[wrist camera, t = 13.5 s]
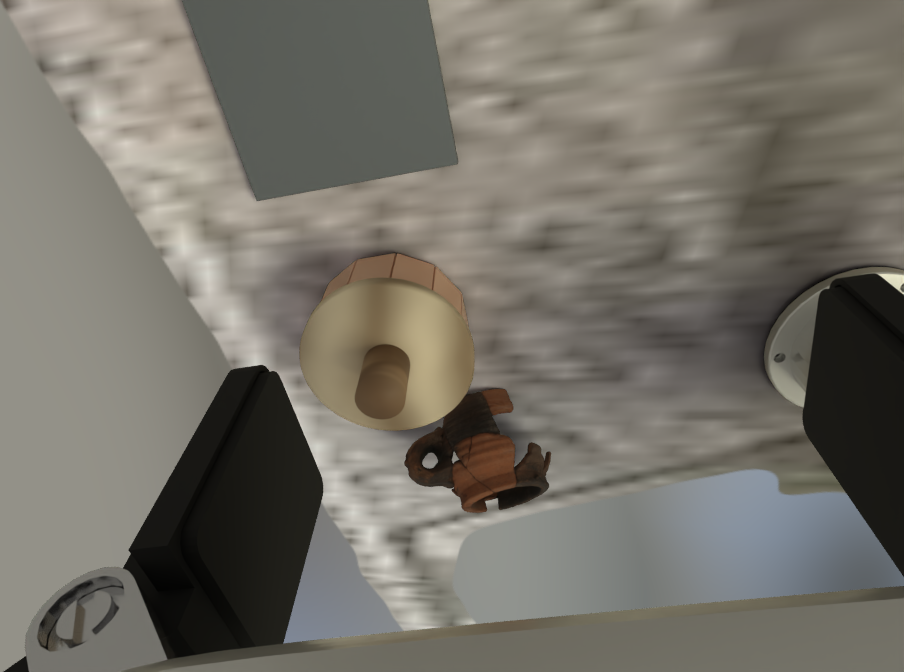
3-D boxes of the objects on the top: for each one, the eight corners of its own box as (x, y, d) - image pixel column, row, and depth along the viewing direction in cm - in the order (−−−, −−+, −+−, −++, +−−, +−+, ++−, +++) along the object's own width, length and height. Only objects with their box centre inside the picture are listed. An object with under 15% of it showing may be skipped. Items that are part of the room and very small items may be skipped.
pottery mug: (540, 375, 51) (572, 470, 47) (519, 421, 59) (544, 506, 55) (396, 398, 49) (416, 501, 45) (394, 443, 57) (411, 533, 53)
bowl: (451, 240, 44) (449, 271, 40) (477, 365, 50) (478, 404, 46) (304, 265, 46) (287, 298, 41) (346, 384, 51) (335, 423, 47)
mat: (410, -89, 34) (409, -90, 33) (458, 161, 41) (457, 164, 41) (173, -33, 36) (169, -33, 35) (259, 198, 43) (256, 201, 42)
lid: (456, 263, 40) (454, 302, 35) (487, 407, 46) (489, 456, 42) (279, 294, 41) (256, 335, 37) (332, 429, 47) (318, 479, 43)
